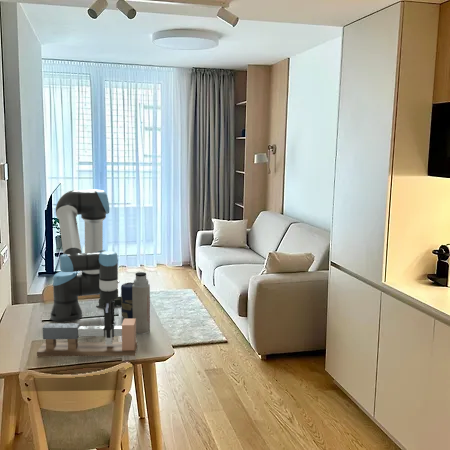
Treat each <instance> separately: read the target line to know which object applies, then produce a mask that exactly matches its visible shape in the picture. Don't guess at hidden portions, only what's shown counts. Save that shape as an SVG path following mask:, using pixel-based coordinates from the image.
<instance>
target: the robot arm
mask: <svg viewBox="0 0 450 450" xmlns="http://www.w3.org/2000/svg"><path fill="white" fill-rule="evenodd" d="M108 214H110V202H109V197H108V194H107V192H106V191H105V190H103V189H78V190H77V189H73V190H70V191H66V192H65V193H64V194H63V195H61V196H60V198H59V199H58V201H57V203H56V205H55V217H56V218H57V220H58V221H59V228H60V229H59V230H60V231H59V232H60V237H61V244H62V245H61V246H62V252H63V254H60V255H59V269H60V271H58V272H56V273H55V274H54V275H53V277H52V286H53V288H52V289H53V290H52V291H53V305H52V308H51V311H50V320H51V321H53V322H56V323H57V322H58V323H69V322H70V323H71V322H74V321H75V322H76V321H77V320H80V319H81V318H82V317H83V311H82V308H81V306H80V302H79V297H84V296H97V295H99V299H100V298H101V299H102V300H105V303H104V307H103V321H104V322H103V326H104V329H103V330H105V337H104V338H105V339H104V340H105V341H104V342H105V343H106V345H112V342H113V341H114V340H115V336H114V337H112V328H111V326H112V325H115V326H116V324H117V323H116V322H115V306H114V304H115V302H114V301H115V300H114V299H116V298H118V297H119V289H118V287H119V284H120V281H119V280H118V279H119V259H118V258H119V256H118V253H117V252H116V251H112V250H105V249H103V246H104V245H103V243H104V241H103V239H104V238H103V237H104V236H103V235H104V234H103V230H104V228H103V224H104V223H103V222H104V220H105V219H106V218H107V215H108ZM78 215H80V219H82V220H83V221H84V252H82V246H81V240H80V234H79V228H78V221H77V216H78Z"/></svg>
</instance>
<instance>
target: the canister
mask: <svg viewBox="0 0 450 450" xmlns="http://www.w3.org/2000/svg"><path fill="white" fill-rule="evenodd" d="M133 284H134V282H126V283H122V284H121V286H120V297H121V306H120V310H121V317H122V318H123V319H133V300H132V285H133Z"/></svg>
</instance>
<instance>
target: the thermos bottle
mask: <svg viewBox="0 0 450 450" xmlns="http://www.w3.org/2000/svg"><path fill="white" fill-rule="evenodd" d="M134 275H135V279H133V283H134V284H133V285H132V300H133V319H135V318H136V335H137V334H138V335H143V334H144V335H145V334H148V333H150V331H151V297H150V296H151V294H150V293H151V289H150V287H151V286H150V283H149V279H148V278H147V273H146V272H144V271H143V272H142V271H141V272H140V271H139V272H135V273H134Z"/></svg>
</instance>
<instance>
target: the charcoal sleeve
mask: <svg viewBox="0 0 450 450" xmlns="http://www.w3.org/2000/svg"><path fill="white" fill-rule="evenodd" d="M79 326H81V324H80V322H77V323H76V322H75V323H72V322H70V323H69V322H58V323H57V322H56V323H55V322H54V323H45V324H44V325H43V326H42V340H46V339H56V340H68V339H79V338H80V336H78V331H77V328H78V327H79Z"/></svg>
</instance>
